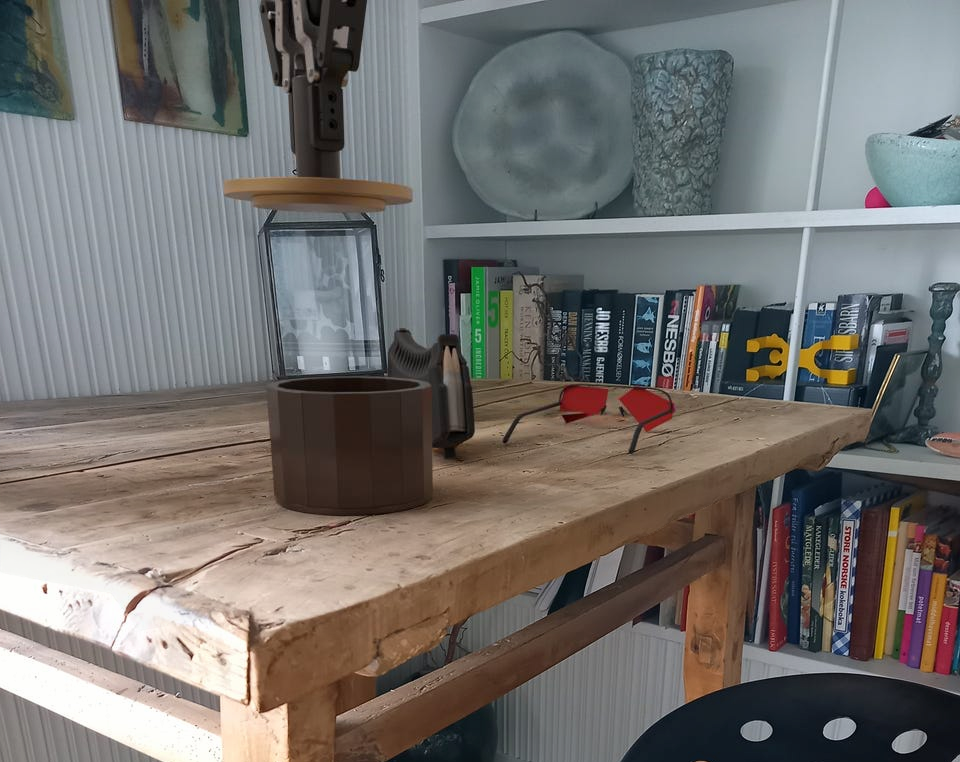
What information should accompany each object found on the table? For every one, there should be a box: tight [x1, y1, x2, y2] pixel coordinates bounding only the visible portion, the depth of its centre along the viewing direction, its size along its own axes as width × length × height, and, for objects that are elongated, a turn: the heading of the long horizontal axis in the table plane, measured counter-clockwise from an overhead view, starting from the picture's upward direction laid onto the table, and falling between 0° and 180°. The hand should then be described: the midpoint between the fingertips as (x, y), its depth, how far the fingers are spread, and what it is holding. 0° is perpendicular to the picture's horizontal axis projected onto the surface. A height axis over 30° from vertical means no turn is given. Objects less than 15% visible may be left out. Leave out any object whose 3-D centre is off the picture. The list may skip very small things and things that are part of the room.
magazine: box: [386, 327, 476, 460], centre depth 97 cm, size 17×3×30 cm
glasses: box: [501, 383, 677, 455], centre depth 99 cm, size 14×16×5 cm
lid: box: [222, 75, 413, 214], centre depth 64 cm, size 13×13×8 cm
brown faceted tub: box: [266, 375, 434, 516], centre depth 71 cm, size 12×12×8 cm
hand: (317, 151), depth 64 cm, fingers closed on lid, 3 cm apart
